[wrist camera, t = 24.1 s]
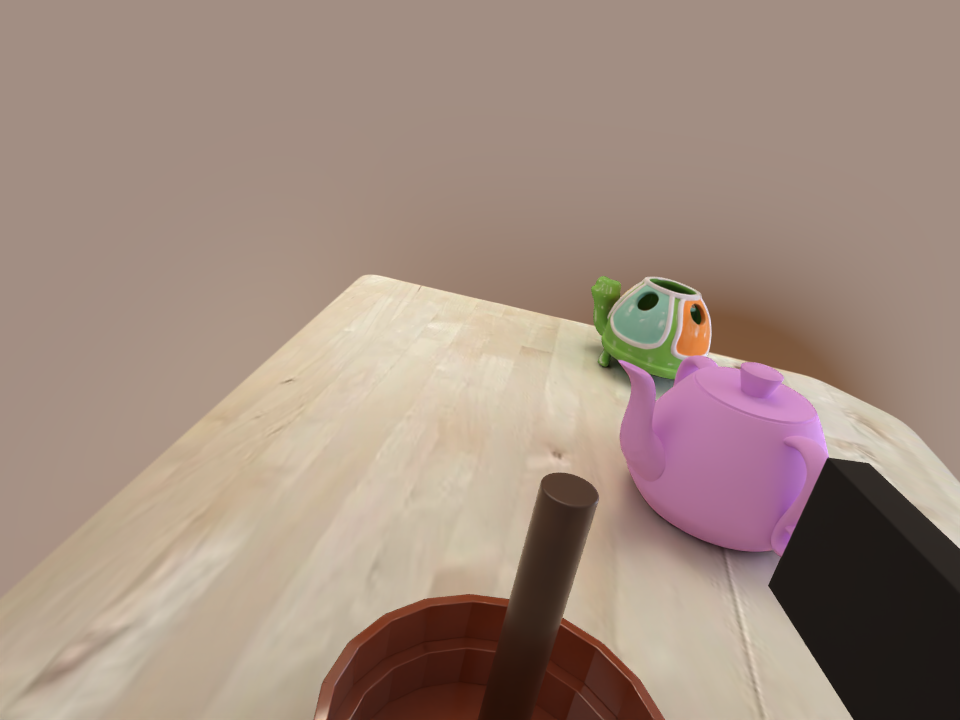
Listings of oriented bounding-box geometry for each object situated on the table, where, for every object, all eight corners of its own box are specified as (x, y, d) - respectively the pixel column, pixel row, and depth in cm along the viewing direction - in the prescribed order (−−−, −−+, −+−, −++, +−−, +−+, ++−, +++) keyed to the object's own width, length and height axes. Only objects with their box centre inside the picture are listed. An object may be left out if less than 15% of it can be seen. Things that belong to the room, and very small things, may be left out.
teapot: (537, 437, 68) (570, 306, 63) (723, 443, 74) (768, 326, 69) (635, 599, 49) (695, 432, 43) (874, 589, 55) (952, 442, 50)
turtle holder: (612, 333, 101) (635, 255, 97) (715, 388, 89) (746, 302, 84) (552, 341, 94) (573, 256, 89) (655, 402, 81) (686, 308, 77)
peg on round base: (435, 890, 29) (527, 548, 22) (402, 758, 34) (468, 446, 27) (562, 856, 31) (683, 536, 24) (514, 737, 36) (602, 444, 29)
